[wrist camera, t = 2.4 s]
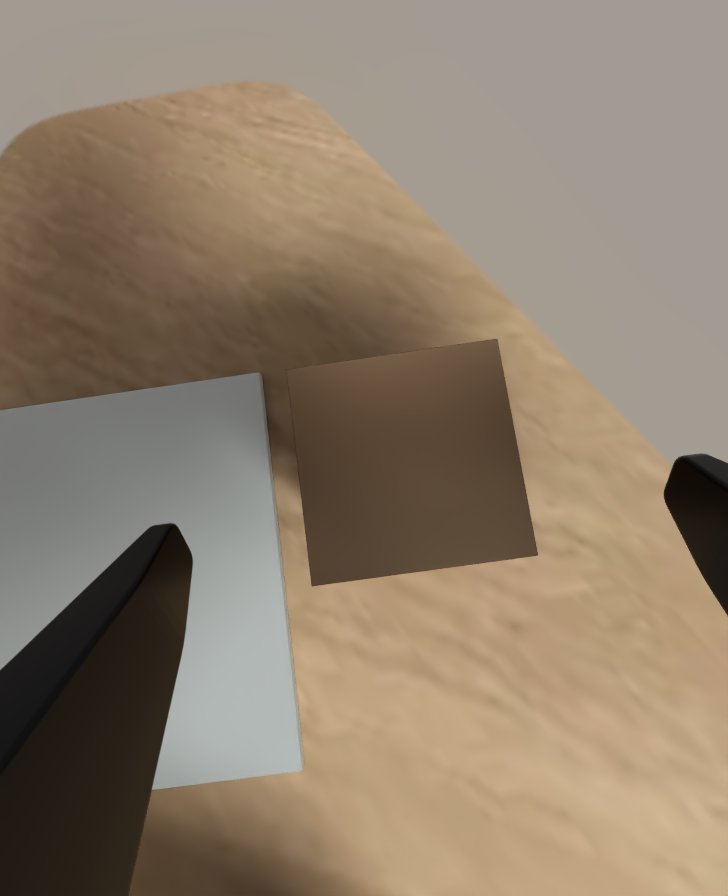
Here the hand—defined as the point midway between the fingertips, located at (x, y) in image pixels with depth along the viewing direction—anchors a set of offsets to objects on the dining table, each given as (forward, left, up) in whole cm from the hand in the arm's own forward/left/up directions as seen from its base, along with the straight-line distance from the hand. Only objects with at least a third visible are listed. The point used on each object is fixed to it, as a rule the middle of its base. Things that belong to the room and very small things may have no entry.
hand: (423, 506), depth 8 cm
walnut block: (+1, 0, -9) cm, 9 cm away
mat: (-1, +10, -9) cm, 14 cm away
